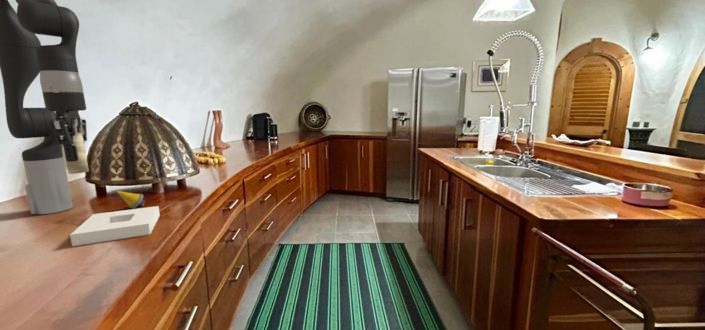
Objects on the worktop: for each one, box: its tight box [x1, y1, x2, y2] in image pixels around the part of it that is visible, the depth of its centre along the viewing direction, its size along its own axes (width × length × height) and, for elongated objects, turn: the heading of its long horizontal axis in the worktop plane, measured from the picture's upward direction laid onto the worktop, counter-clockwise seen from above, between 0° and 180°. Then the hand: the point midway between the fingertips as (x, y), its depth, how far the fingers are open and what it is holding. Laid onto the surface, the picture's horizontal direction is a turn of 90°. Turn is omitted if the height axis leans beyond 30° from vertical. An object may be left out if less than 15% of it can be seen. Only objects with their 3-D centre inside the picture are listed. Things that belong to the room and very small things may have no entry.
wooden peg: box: [62, 133, 90, 175], centre depth 79 cm, size 4×4×10 cm
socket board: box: [69, 205, 161, 247], centre depth 84 cm, size 16×16×3 cm
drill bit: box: [116, 190, 146, 210], centre depth 102 cm, size 5×5×10 cm
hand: (76, 159), depth 79 cm, fingers closed on wooden peg, 4 cm apart
